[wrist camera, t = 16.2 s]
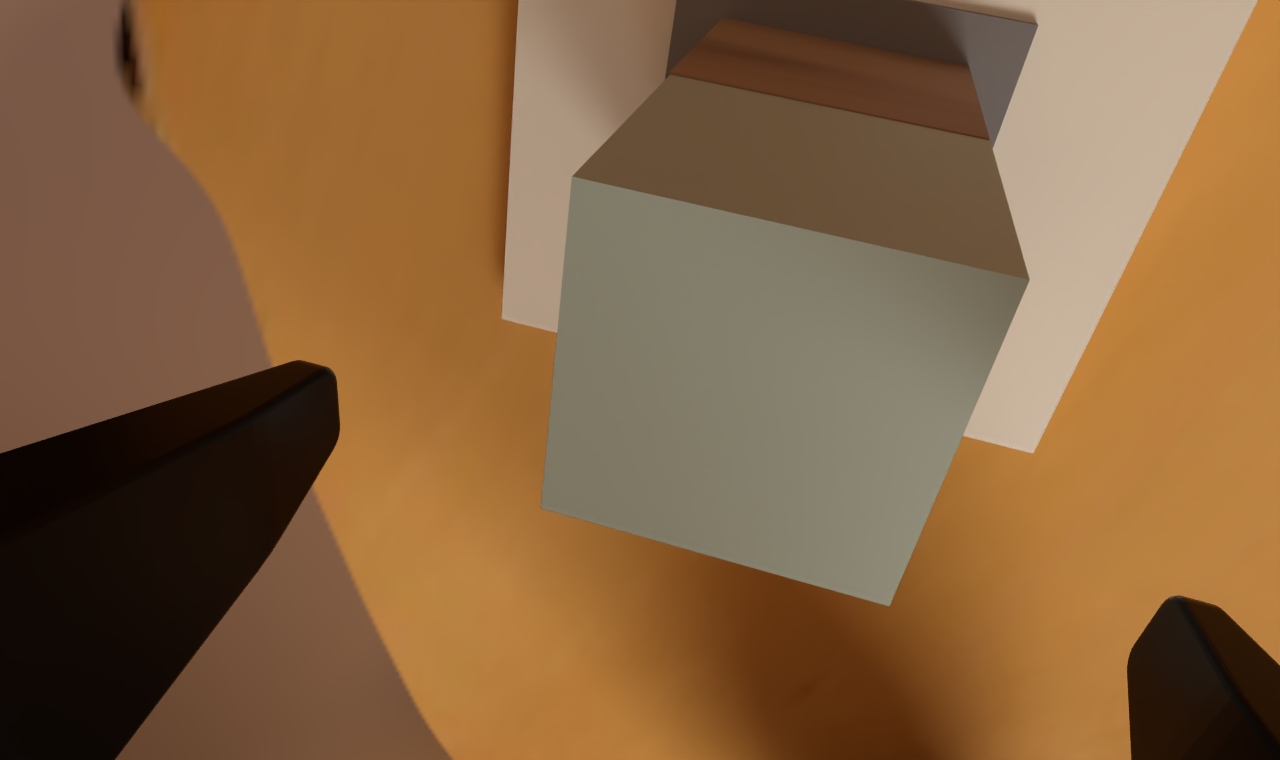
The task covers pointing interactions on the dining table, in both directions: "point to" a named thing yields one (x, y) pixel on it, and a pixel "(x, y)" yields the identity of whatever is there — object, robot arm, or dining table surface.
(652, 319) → the grey-green block
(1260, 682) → the robot arm
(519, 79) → the white flat plate
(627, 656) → the dining table surface
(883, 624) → the dining table surface
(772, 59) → the walnut block
